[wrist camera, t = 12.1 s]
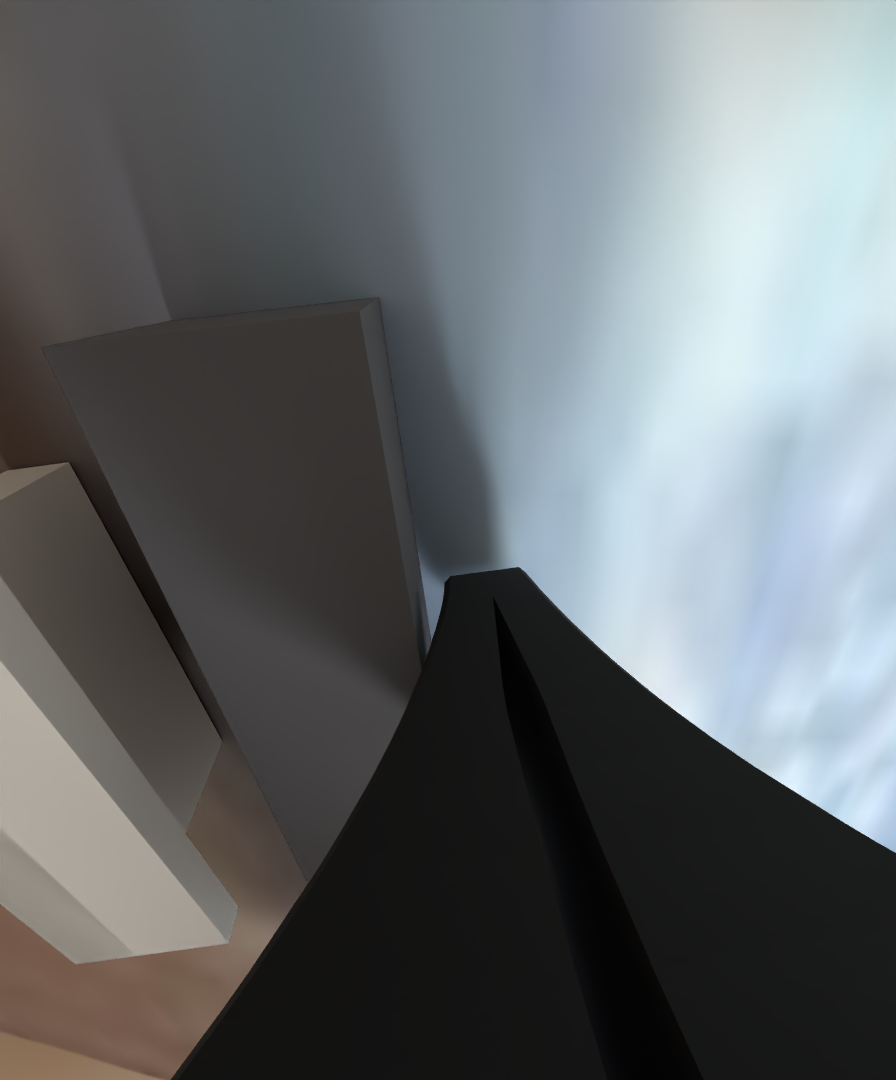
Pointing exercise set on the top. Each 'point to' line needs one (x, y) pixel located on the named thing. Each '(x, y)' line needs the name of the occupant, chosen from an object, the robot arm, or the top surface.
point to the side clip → (95, 741)
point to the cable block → (271, 532)
